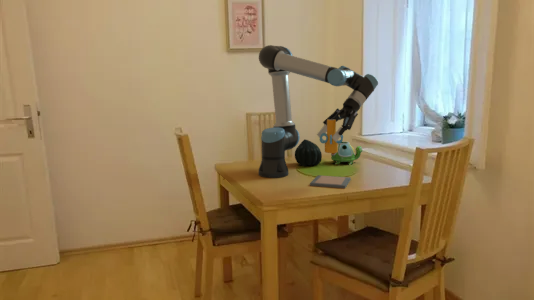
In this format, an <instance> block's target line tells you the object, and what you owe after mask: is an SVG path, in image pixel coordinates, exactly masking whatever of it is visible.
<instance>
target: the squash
mask: <svg viewBox="0 0 534 300" xmlns="http://www.w3.org/2000/svg"><path fill="white" fill-rule="evenodd" d="M322 154H323V153H322V151H321V149H320V147H319V146H318V145H317V144H316V143H314V142H312V141H310V140H309V139H303V140H302V141H301V142H300V143H299V144H298V145H297V147H296V149H295V150H294V159H295V161H296V163H297V164H298V165H300V166H302V167H307V166H314V165H315V166H318V165H320V163H321V162H322V159H323V155H322Z"/></svg>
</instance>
